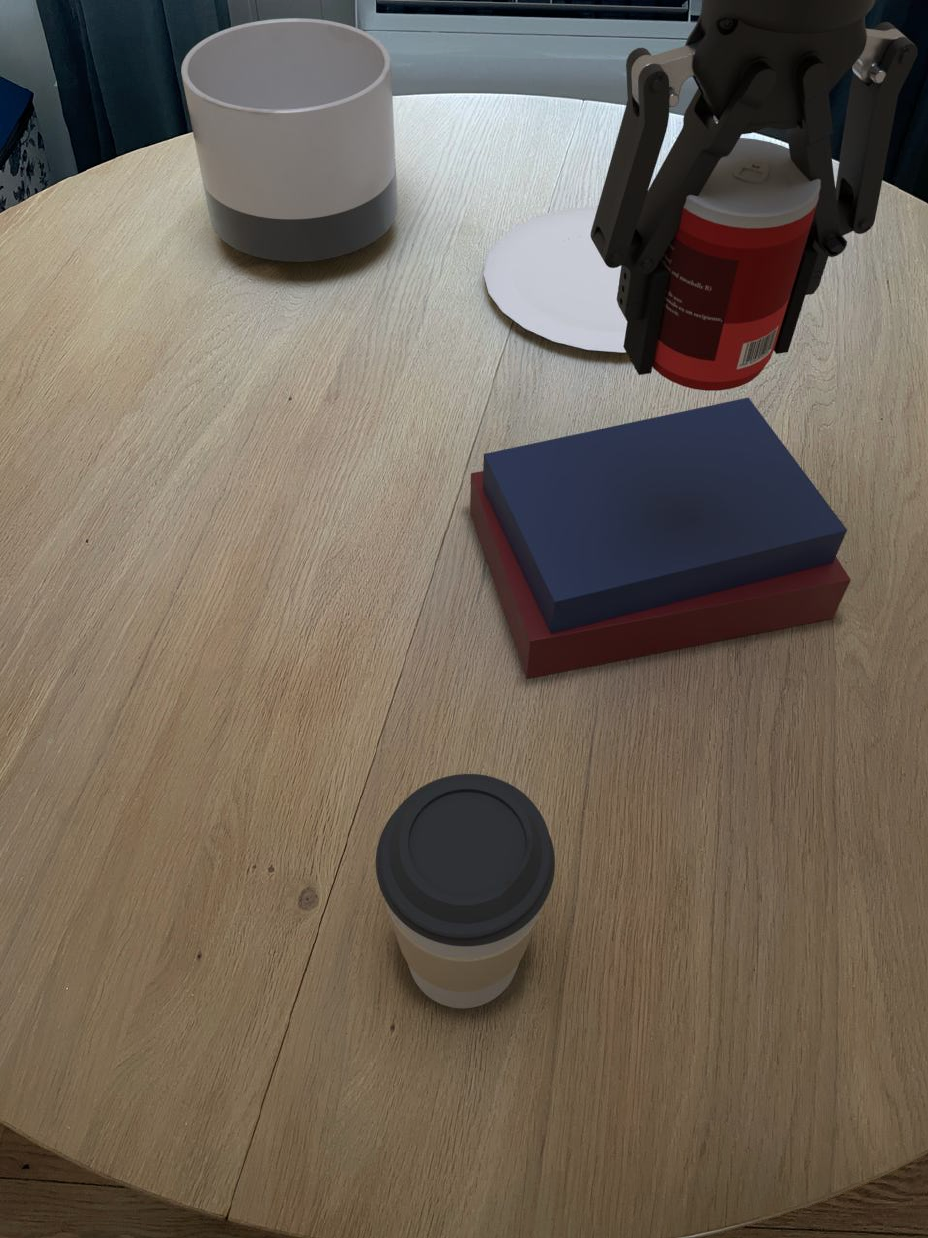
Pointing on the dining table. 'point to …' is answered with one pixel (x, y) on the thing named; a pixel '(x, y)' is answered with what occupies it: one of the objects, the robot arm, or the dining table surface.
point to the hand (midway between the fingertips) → (705, 348)
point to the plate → (558, 282)
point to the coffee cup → (465, 884)
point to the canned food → (734, 268)
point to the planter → (294, 136)
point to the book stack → (654, 538)
